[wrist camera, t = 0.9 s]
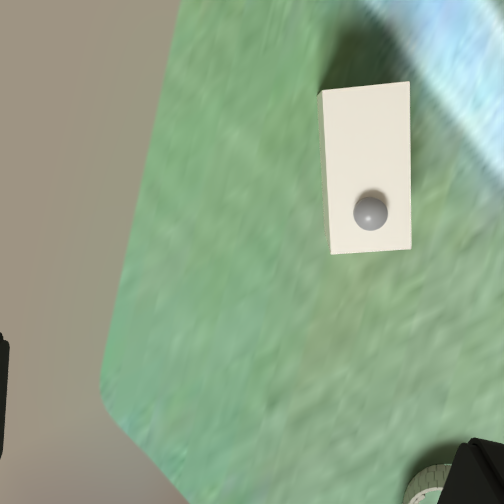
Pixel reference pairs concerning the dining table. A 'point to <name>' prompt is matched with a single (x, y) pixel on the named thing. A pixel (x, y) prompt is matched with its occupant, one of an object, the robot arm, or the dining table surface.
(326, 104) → the white block with knob
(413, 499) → the wristwatch
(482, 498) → the robot arm
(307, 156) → the dining table surface
